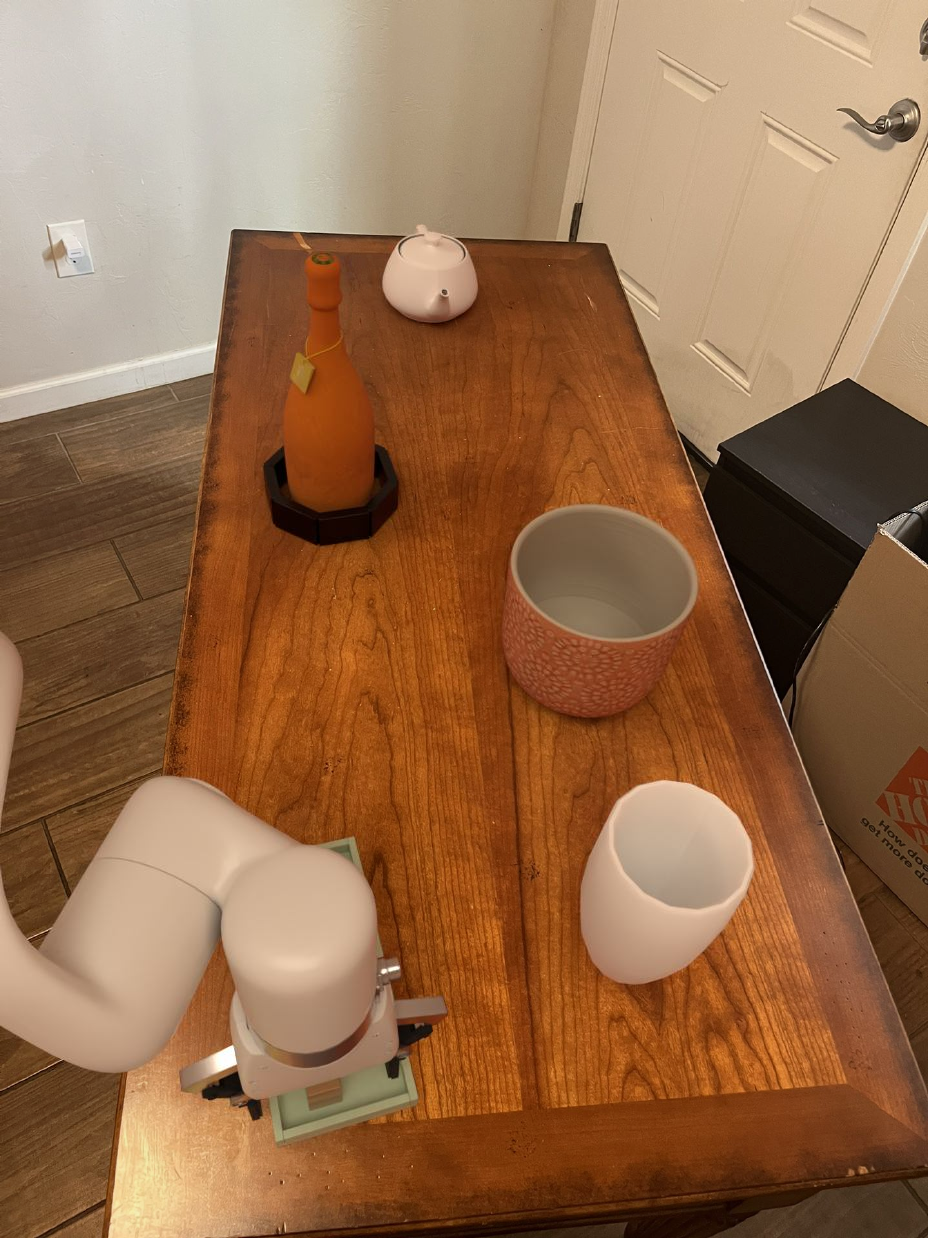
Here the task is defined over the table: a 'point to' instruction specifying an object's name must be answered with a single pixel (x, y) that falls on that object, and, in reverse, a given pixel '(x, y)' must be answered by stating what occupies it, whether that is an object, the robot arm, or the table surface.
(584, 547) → the planter
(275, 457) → the bottle stand
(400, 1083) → the tray
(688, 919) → the cup
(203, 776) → the table surface
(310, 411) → the wine bottle
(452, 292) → the teapot
